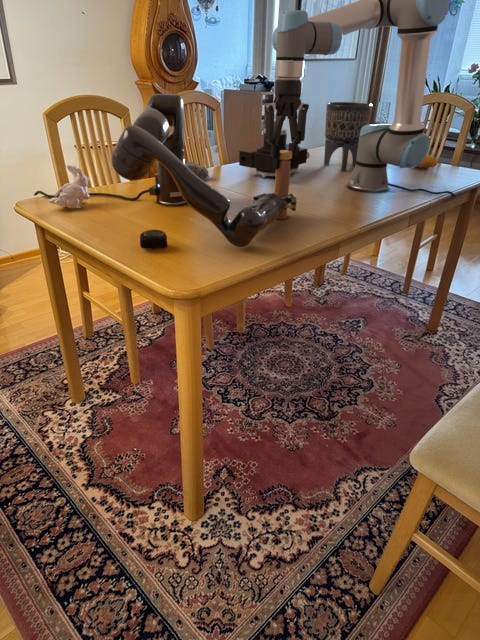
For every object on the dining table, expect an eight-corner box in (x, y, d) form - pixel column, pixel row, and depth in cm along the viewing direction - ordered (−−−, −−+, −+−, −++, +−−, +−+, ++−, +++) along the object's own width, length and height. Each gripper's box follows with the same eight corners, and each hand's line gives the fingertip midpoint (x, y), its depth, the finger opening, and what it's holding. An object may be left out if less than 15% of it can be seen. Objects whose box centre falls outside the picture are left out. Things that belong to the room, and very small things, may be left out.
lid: (294, 159, 132) (295, 152, 131) (279, 159, 131) (279, 153, 130) (288, 156, 136) (288, 149, 135) (273, 156, 135) (273, 150, 134)
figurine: (99, 203, 151) (94, 164, 145) (61, 214, 140) (53, 172, 134) (83, 199, 155) (77, 161, 149) (45, 209, 144) (37, 168, 138)
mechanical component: (240, 120, 182) (283, 115, 202) (239, 174, 192) (280, 164, 212) (283, 126, 170) (325, 120, 190) (280, 183, 180) (320, 171, 200)
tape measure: (140, 252, 115) (139, 238, 113) (141, 242, 120) (140, 229, 119) (167, 251, 116) (166, 237, 114) (167, 241, 121) (166, 228, 120)
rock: (201, 174, 189) (200, 158, 186) (213, 179, 184) (213, 162, 180) (174, 179, 182) (173, 162, 178) (186, 184, 176) (186, 167, 173)
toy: (412, 161, 206) (406, 154, 219) (414, 175, 209) (408, 167, 222) (438, 153, 203) (431, 147, 216) (440, 167, 206) (432, 160, 219)
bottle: (272, 218, 141) (276, 155, 132) (273, 214, 145) (277, 152, 135) (286, 219, 141) (290, 156, 131) (287, 215, 144) (291, 153, 135)
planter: (313, 167, 208) (319, 103, 195) (331, 160, 222) (338, 101, 209) (353, 173, 199) (362, 107, 185) (369, 166, 213) (379, 104, 199)
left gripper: (242, 219, 132) (262, 204, 146) (289, 226, 128) (304, 210, 142) (242, 194, 128) (263, 181, 142) (291, 200, 124) (307, 186, 138)
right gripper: (307, 78, 130) (300, 162, 142) (253, 78, 122) (251, 167, 134) (323, 79, 124) (314, 167, 136) (268, 79, 117) (264, 172, 128)
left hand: (283, 195), depth 142 cm, fingers closed on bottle, 4 cm apart
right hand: (283, 167), depth 135 cm, fingers closed on lid, 5 cm apart
